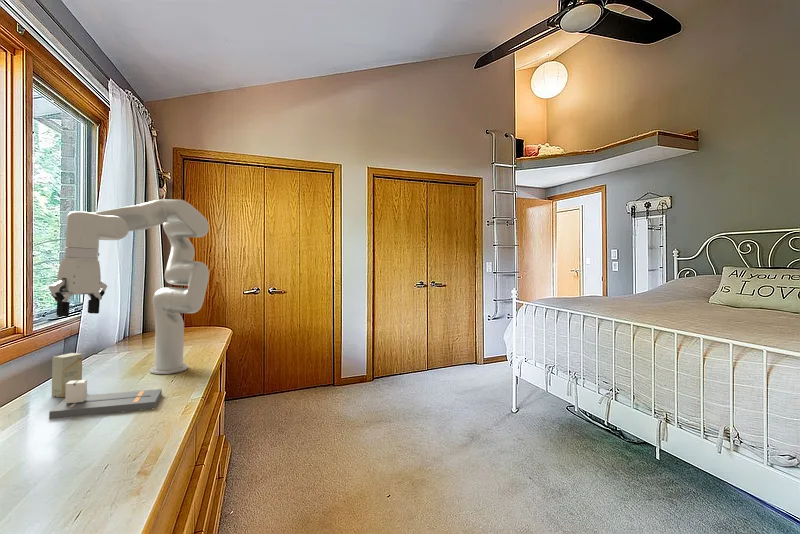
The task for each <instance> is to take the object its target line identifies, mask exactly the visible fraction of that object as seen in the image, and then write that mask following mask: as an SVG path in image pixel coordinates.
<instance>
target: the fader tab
mask: <svg viewBox="0 0 800 534" xmlns="http://www.w3.org/2000/svg"><path fill="white" fill-rule="evenodd" d="M87 395H88V379H82V380H75V381H69V382H68V383H66V396H65V397H64V399H65V403H77V402H84V401H85V400H86V399H87Z"/></svg>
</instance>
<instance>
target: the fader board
mask: <svg viewBox="0 0 800 534" xmlns="http://www.w3.org/2000/svg"><path fill="white" fill-rule="evenodd" d="M162 393H163V391H162V388H159V389H145V390H136V391H135V390H134V391H132V390H131V391H120V392H108V393H97V394H96V393H95V394H87V399H86V400H85V401H84V402H77V403H65V398H64V399H62V400H61V401H60V402H59V403H58V404H57V405H55V406H54V407H52V409H50V410H49V412H48V419H49V420H53V419H65V418H64V417H66V418H74V417H85V416H95V415H104V414H105V415H106V414H115V413H114V412H117V413H123V412H122V411H127V412H134V411H133V410H137V411H141V410H140V409H147V410H153V409H152V408H155V409H156V407H157V405H158V403H159V401H160V399H161V397H162V396H163V395H162Z"/></svg>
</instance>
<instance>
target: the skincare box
mask: <svg viewBox="0 0 800 534" xmlns="http://www.w3.org/2000/svg"><path fill="white" fill-rule="evenodd" d="M51 358H52V361H51V362H52V365H51V366H52V367H51V397H55V396H56V397H55V398H65V396H66V383H68V382H69V381H75V380H83V353H80V352H79V353H76V352H70V353H69V352H68V353H64V354H61V355H56V356H51Z"/></svg>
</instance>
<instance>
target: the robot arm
mask: <svg viewBox="0 0 800 534" xmlns="http://www.w3.org/2000/svg"><path fill="white" fill-rule="evenodd" d="M160 225H162V227H163V231H164V233H165V235H166V236H167V238H168V241H169V243H170V251H169V256H168V259H167V264H166V266H165V270H164V280H165V282H166V283H168V284H170V285H174V286H187V287H173V286H168V287H167V286H166V287H162V288H159V289H158V290H156V291H155V293H153V296H152V307H153V310H154V318H155V319H154V321H155V323H154V324H155V325H154V326H155V327H154V329H155V331H154V332H155V333H154V365H153V366H151V367H150V368H149V372H150V373H151V374H154V375H155V374H156V375H167V374H168V375H170V374H176V373H181V372H184V371H185V370H187V369H188V367H189V366H188V364H187V363H184V345H185V344H184V339H185V338H184V335H185V322H184V319H183V317H182V315H181V314H195V313H197V312H199V311H200V310H201V309H202V307H203V304H204V301H205V296H206V292H207V289H208V284H209V279H210V271H209V270H210V269H209V267H208V266H207V264H206V263H204V262H202V261H195V260H194V258H195V254H196V253H195V252H196V250H195V247H194V244H193V243H192V242H191V241H190V238H204V237H205V236H206V235H207V234H208V233H209V230H210V224H209V221H208V219H207V218H206V217H205V216H204V215H203V214H202V213H201V212H200V211H199V210H198V209H196V208H195V207H194V205H192V204H191V203H189V202H187V201H186V200H184V199H166V198H164V199H163V198H162V199H155V200H151V201H148V202H147V201H146V202H143V203H140V204H136V205H135V204H134V205H129V206H123V207H118V208H111V209H105V210H104V209H103V210H101V211H95V212H88V211H81V210H79V211H77V210H76V211H75V210H74V211H70V212H69V213H68V214H67V216H66V232H65V234H66V235H65V248H64V250H65V251H64V258H62V259H61V261H60V265H59V267H58V272H57V277H56V281H55V282H54V283H52V284H50V285H49V286H48V289H49V291H50V293H51V294H50V295H51V297H52V298H53V299H54V302H56V313H55V314H56V317H69V316H70V305H71V304H70V301H69V299H70V298H71V297H72V296H73V295H74V296H75V295H76V296H77V295H78V296H79V295H87V296H88V297H89V298H90V299H88V302H87V303H88V304H87V313H88V314H95V315H96V314H99V313H100V304H101V303H100V302H101V300H102V299H103V296H104V295H105V292H106V290H107V288H108V285H107V283H104V282H102V281H101V280H102V278H101V266H100V260H99V256H100V252H99V247H100V241H120V240H122V239H124V238H125V237H127V235H128V234H129V232H137V231H144V230H148V229H151V228H154V227H157V226H160Z"/></svg>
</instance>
